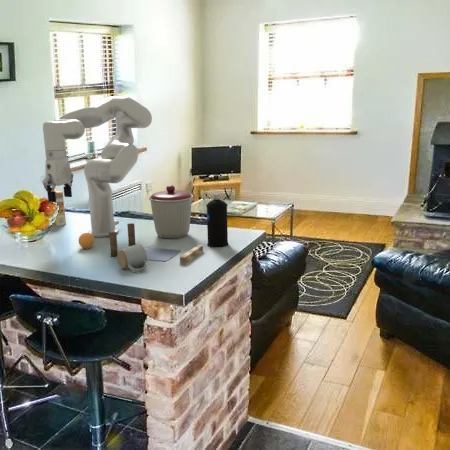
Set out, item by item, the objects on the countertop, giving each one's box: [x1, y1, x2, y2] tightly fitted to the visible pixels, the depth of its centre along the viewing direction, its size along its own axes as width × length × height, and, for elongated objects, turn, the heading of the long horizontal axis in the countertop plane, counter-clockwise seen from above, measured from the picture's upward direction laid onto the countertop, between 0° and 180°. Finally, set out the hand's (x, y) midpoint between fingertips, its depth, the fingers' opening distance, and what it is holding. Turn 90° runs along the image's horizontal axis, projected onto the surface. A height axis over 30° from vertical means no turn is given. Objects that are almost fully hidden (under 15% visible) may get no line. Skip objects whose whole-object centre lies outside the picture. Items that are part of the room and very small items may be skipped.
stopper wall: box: [179, 244, 204, 265], centre depth 200 cm, size 16×2×2 cm, turn 160°
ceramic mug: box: [116, 243, 148, 273], centre depth 189 cm, size 11×8×8 cm
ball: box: [78, 232, 95, 249], centre depth 215 cm, size 6×6×6 cm
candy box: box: [53, 188, 67, 227], centre depth 254 cm, size 9×4×15 cm, turn 33°
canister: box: [148, 184, 194, 240], centre depth 228 cm, size 18×18×21 cm
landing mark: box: [144, 246, 183, 262], centre depth 205 cm, size 14×14×1 cm
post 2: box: [127, 222, 137, 247], centre depth 215 cm, size 3×3×9 cm
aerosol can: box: [205, 193, 229, 249], centre depth 213 cm, size 8×8×20 cm
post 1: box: [108, 232, 119, 258], centre depth 203 cm, size 3×3×9 cm
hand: (60, 199), depth 214 cm, fingers open, 9 cm apart
